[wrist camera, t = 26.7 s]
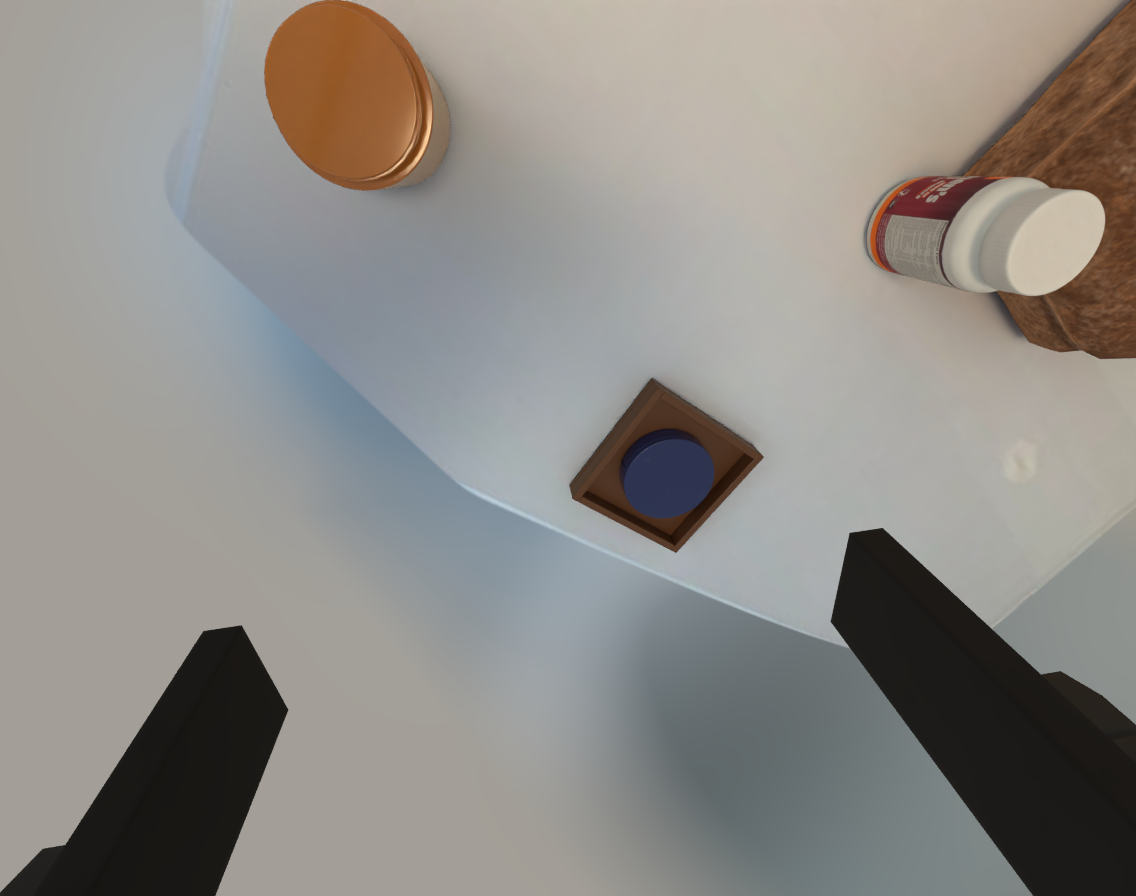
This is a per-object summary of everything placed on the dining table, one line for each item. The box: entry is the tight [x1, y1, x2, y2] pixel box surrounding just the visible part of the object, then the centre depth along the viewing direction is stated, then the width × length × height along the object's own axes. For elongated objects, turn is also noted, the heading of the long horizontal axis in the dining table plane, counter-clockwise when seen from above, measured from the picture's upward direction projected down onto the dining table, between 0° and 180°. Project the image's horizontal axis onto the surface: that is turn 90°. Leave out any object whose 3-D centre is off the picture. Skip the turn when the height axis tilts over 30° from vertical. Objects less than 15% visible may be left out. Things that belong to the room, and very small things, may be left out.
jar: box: [264, 0, 450, 191], centre depth 26 cm, size 7×7×10 cm
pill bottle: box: [867, 176, 1105, 296], centre depth 31 cm, size 6×6×11 cm
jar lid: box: [619, 429, 714, 518], centre depth 42 cm, size 8×7×2 cm
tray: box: [570, 379, 763, 552], centre depth 42 cm, size 11×11×2 cm
